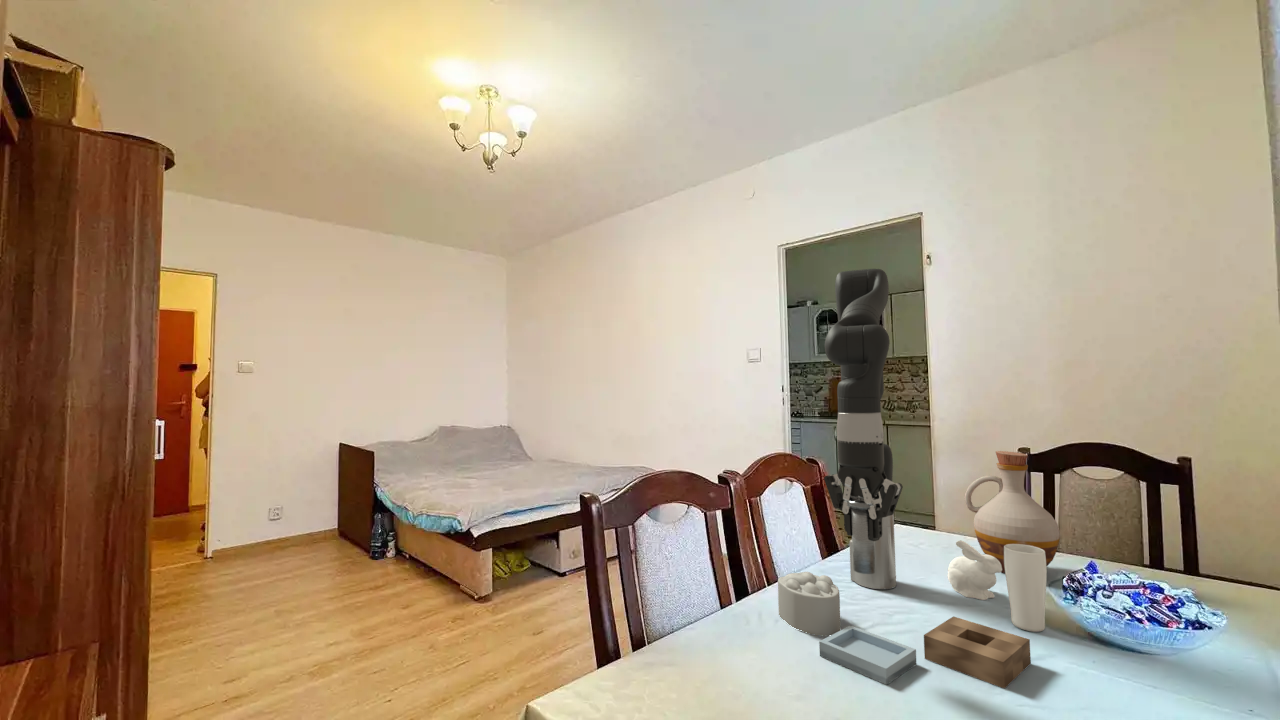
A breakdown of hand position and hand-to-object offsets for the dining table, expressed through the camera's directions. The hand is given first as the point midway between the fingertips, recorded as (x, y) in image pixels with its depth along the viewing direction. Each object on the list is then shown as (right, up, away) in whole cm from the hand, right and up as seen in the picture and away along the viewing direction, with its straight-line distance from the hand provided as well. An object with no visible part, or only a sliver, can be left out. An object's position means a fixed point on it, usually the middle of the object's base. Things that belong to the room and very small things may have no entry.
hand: (863, 537), depth 94 cm
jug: (+55, -23, +42) cm, 73 cm away
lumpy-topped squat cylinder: (-4, -22, +14) cm, 27 cm away
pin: (0, -6, 0) cm, 6 cm away
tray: (0, -21, -1) cm, 21 cm away
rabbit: (+36, -22, +27) cm, 51 cm away
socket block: (+19, -20, -2) cm, 28 cm away
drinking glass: (+37, -21, +11) cm, 44 cm away
